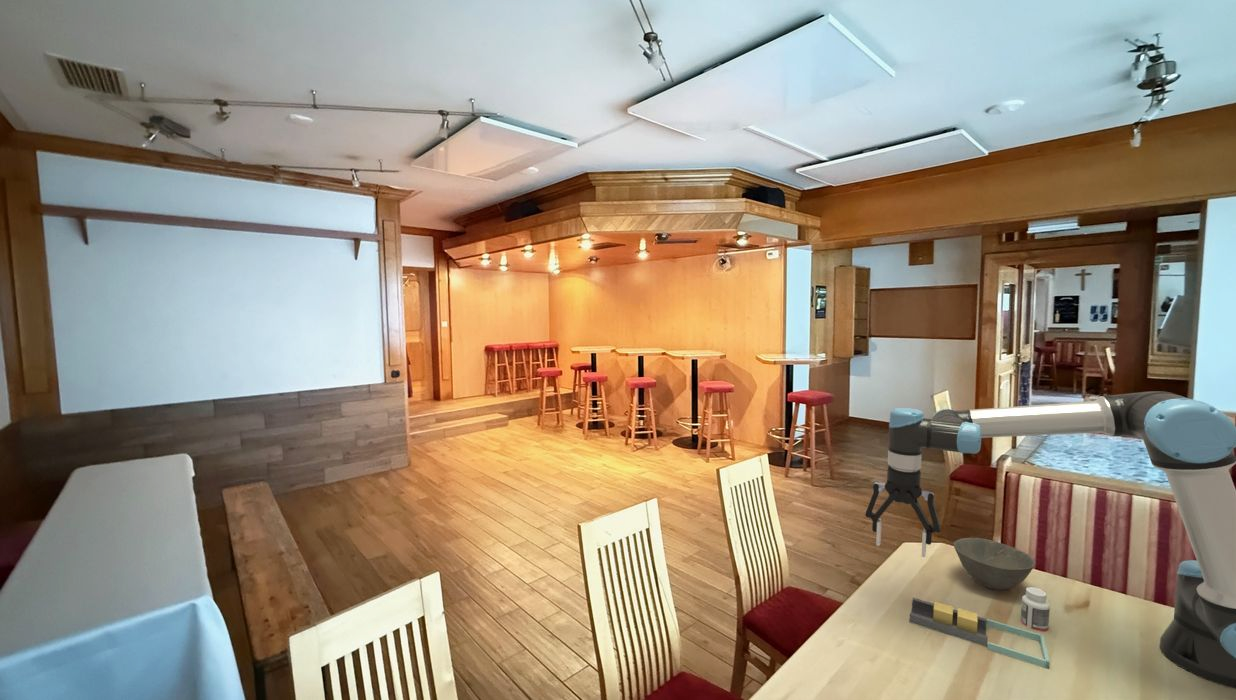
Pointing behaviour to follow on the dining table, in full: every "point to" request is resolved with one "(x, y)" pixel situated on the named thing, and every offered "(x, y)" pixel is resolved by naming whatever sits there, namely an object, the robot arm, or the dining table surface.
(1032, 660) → the tray
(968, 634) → the slot rail
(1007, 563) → the bowl
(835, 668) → the dining table surface
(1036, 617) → the pill bottle
